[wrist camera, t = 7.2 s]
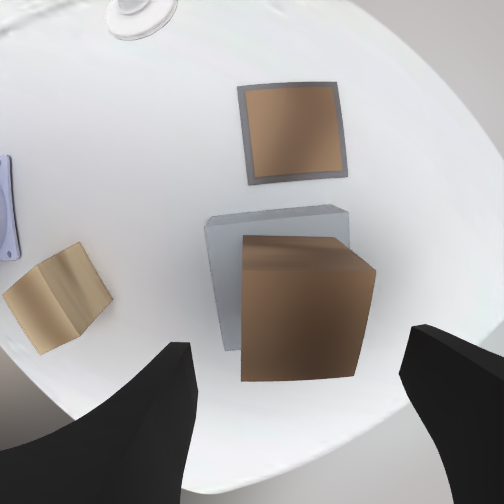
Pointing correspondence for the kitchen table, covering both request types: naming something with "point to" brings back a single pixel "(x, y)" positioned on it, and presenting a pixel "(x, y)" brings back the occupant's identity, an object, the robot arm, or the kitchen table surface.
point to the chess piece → (137, 17)
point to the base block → (259, 223)
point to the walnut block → (302, 308)
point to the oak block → (58, 299)
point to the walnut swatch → (292, 131)
